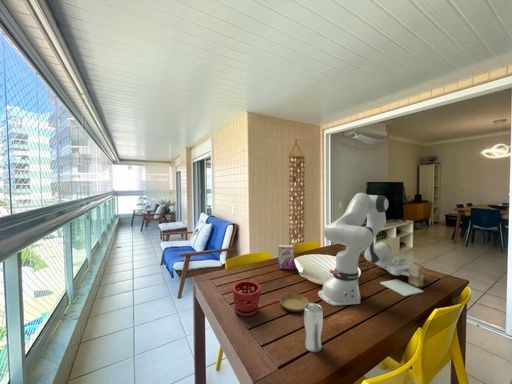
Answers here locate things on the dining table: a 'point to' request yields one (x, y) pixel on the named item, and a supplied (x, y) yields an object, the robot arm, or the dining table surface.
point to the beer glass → (313, 326)
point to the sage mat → (401, 287)
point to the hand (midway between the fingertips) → (415, 273)
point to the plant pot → (246, 298)
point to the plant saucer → (293, 302)
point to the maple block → (416, 274)
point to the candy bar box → (286, 257)
